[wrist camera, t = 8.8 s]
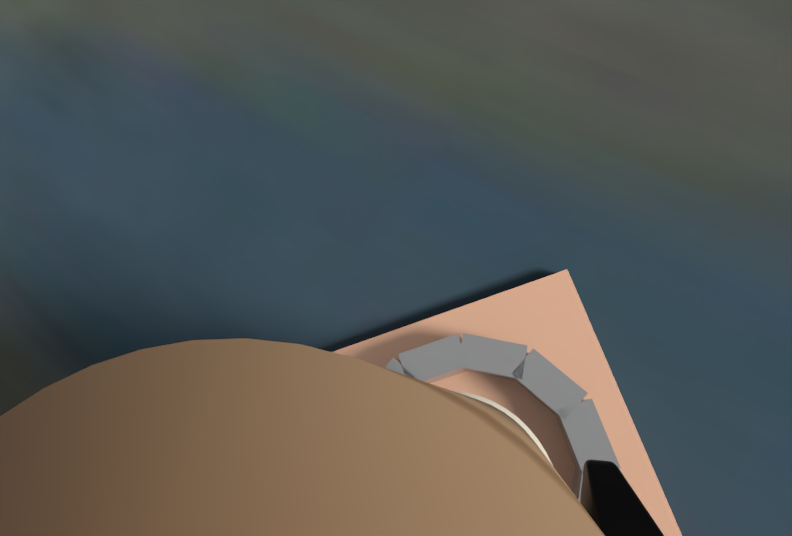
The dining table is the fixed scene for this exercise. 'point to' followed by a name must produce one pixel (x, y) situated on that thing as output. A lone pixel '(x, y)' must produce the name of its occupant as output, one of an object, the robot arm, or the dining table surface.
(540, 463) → the brown cylinder
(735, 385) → the dining table surface
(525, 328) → the collar
